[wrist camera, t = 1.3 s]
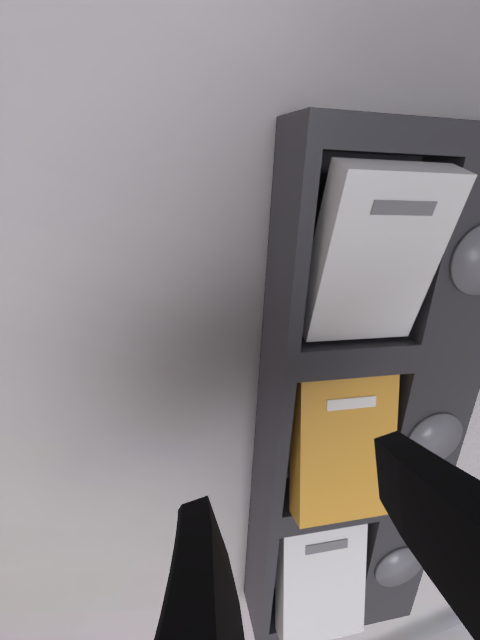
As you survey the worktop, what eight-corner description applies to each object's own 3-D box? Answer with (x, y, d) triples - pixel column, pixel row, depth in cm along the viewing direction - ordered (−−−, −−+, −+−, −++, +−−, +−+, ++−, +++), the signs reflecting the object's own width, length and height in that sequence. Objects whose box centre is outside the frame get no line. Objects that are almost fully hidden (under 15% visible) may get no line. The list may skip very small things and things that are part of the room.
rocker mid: (382, 365, 20) (400, 373, 18) (377, 497, 21) (394, 514, 19) (290, 372, 19) (302, 381, 17) (289, 510, 20) (300, 530, 18)
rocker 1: (355, 504, 23) (368, 519, 22) (351, 611, 24) (364, 633, 23) (275, 516, 22) (284, 533, 21) (275, 628, 23) (283, 651, 22)
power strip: (487, 131, 18) (565, 126, 15) (370, 601, 30) (399, 657, 27) (277, 116, 16) (312, 106, 13) (241, 629, 28) (254, 694, 25)
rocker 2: (452, 163, 15) (478, 175, 14) (392, 317, 19) (408, 337, 18) (331, 156, 14) (349, 169, 13) (295, 322, 18) (306, 343, 17)
